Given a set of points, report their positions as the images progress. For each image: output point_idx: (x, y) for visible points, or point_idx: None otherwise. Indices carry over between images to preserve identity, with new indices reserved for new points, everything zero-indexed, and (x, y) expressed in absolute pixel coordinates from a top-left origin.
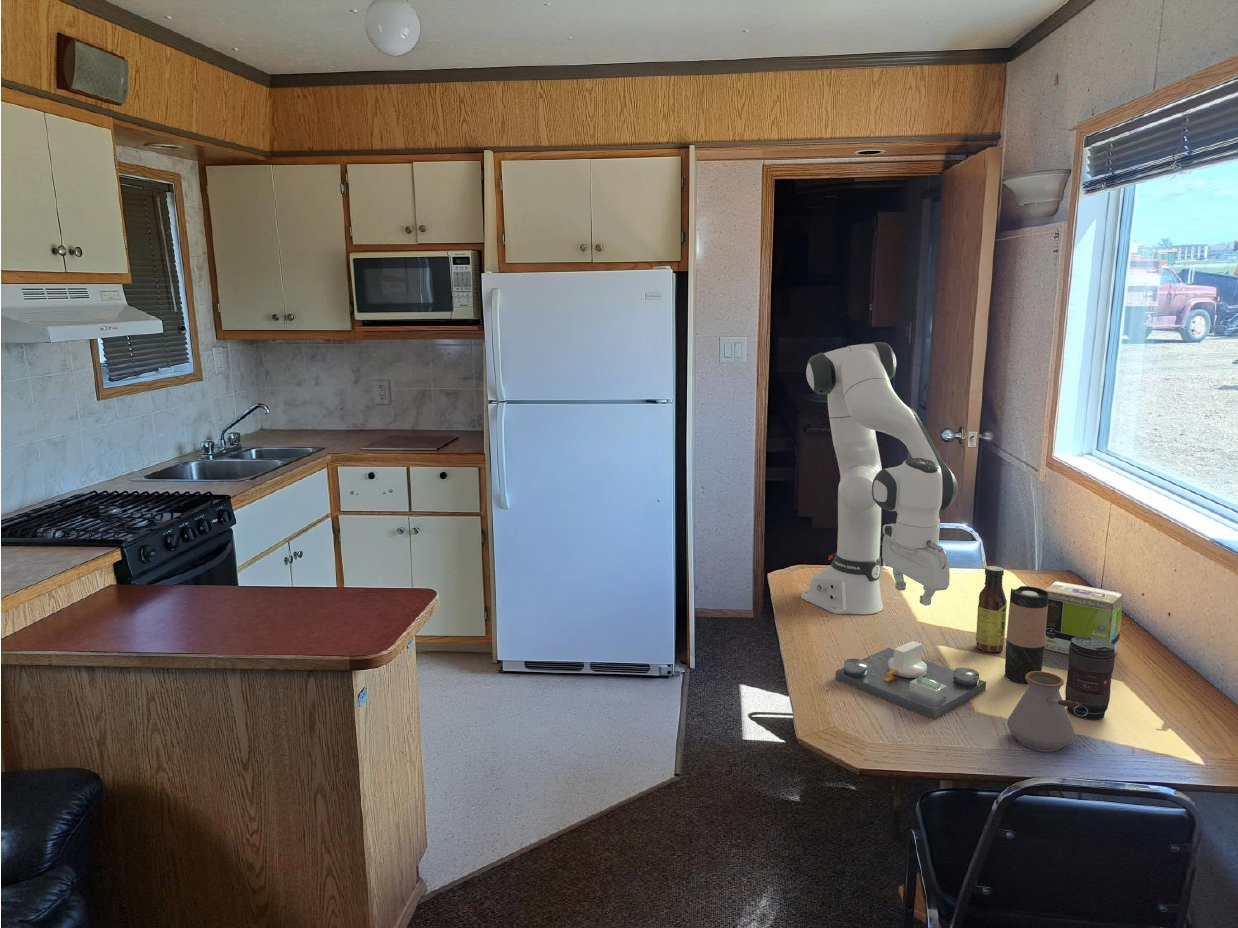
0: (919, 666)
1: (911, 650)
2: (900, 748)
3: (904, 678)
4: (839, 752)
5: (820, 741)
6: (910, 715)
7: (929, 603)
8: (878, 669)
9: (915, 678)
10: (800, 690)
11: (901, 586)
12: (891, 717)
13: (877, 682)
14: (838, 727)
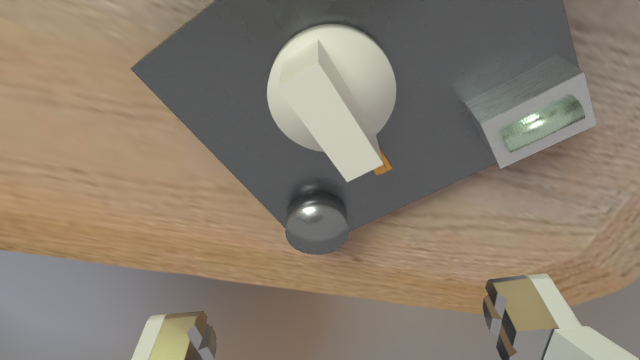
0: (362, 66)
1: (359, 123)
2: (632, 218)
3: None
4: (580, 297)
5: None
6: None
7: (547, 285)
8: (309, 161)
9: None
10: (347, 295)
11: (199, 354)
12: (516, 190)
13: (388, 190)
14: None
